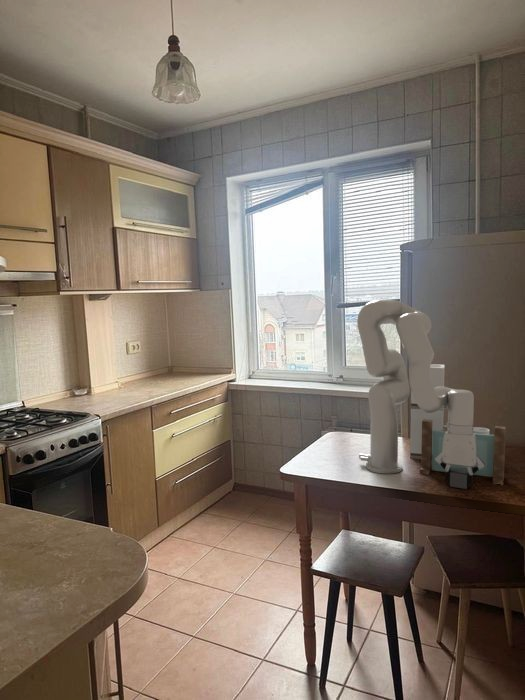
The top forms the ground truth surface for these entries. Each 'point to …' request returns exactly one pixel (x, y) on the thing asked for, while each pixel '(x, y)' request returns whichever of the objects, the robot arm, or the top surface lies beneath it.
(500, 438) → the door frame
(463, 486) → the block
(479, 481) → the top surface
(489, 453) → the door
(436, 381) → the white block
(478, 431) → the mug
